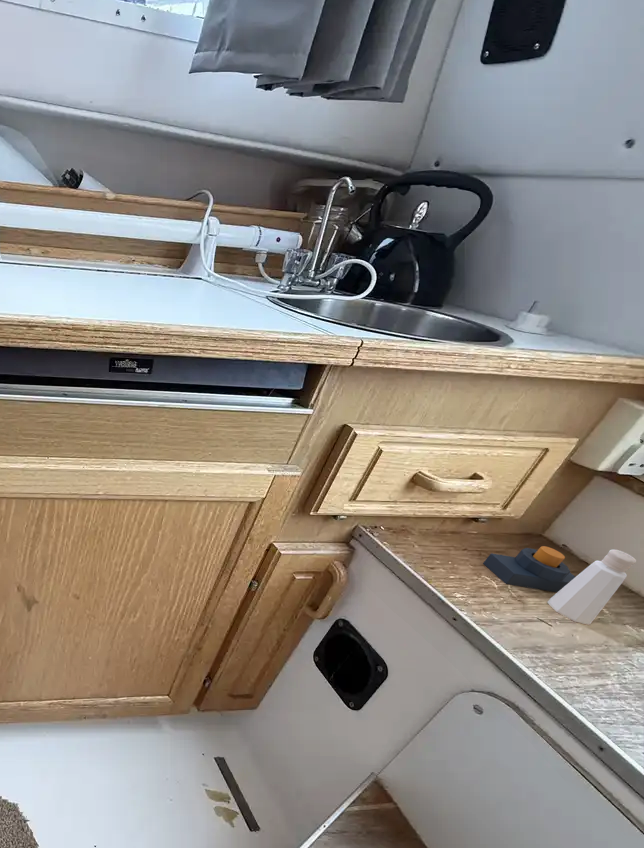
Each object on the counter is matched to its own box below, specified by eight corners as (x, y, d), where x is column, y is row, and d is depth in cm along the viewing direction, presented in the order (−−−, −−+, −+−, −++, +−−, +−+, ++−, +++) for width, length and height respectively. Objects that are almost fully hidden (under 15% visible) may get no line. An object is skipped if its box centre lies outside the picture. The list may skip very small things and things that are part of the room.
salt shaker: (537, 599, 83) (589, 542, 78) (562, 598, 85) (615, 542, 79) (576, 626, 79) (634, 568, 73) (601, 624, 80) (660, 567, 75)
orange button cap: (544, 557, 87) (553, 547, 86) (561, 570, 85) (570, 559, 84) (527, 554, 87) (536, 544, 86) (542, 567, 85) (552, 556, 84)
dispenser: (548, 572, 91) (565, 554, 89) (580, 598, 86) (598, 578, 84) (480, 561, 90) (495, 542, 88) (508, 586, 85) (525, 566, 83)
